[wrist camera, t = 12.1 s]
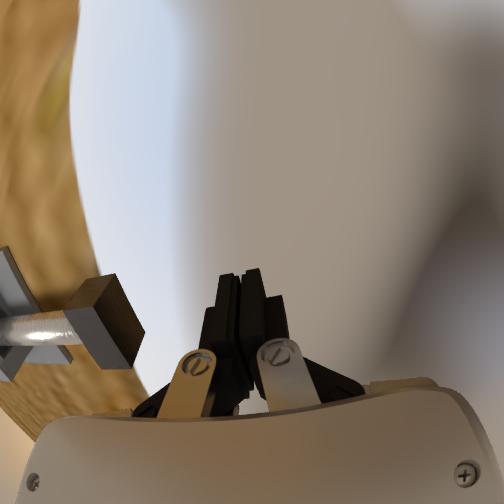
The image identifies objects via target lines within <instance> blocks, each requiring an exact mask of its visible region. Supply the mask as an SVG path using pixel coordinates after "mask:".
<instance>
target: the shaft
mask: <svg viewBox="0 0 504 504" xmlns="http://www.w3.org/2000/svg"><path fill="white" fill-rule="evenodd" d="M144 334H145V331H144V329H143V327H142V325H141V324H140V322H139V320H138V318H137V316H136V314H135V312H134V310H133V308H132V306H131V305H130V303H129V301H128V299H127V297H126V295H125V293H124V291H123V288H122V286H121V284H120V282H119V280H118V278H117V276H116V274H115V273H114V274H110V275H105V276H100V277H95V278H90V279H86V280H85V282H84V283H83V284H82V285H81V287H80V288H79V289H78V291H77V292H76V293H75V295H74V296H73V297H72V299H71V300H70V301H69V303H68V304H67V305H66V307H65V308H64V309H63V310H59V311H52V312H44V313H37V314H29V315H21V316H13V317H4V318H0V346H46V345H76V344H84V346H85V347H86V348H87V350H88V351H89V353H90V354H91V356H92V357H93V358H94V360H95V361H96V363H97V364H98V365H99V367H100V368H101V369H132V367H133V364H134V361H135V358H136V356H137V353H138V351H139V348H140V345H141V343H142V340H143V337H144Z"/></svg>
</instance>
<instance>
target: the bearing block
mask: <svg viewBox="0 0 504 504" xmlns="http://www.w3.org/2000/svg"><path fill="white" fill-rule="evenodd" d="M37 313H42V312H41V310H40V308H39V307H38V305H37V303H36V302H35V300H34V298H33V296H32V295H31V293H30V291H29V289H28V287H27V286H26V284H25V282H24V280H23V278H22V276H21V274H20V272H19V270H18V268H17V266H16V264H15V262H14V260H13V258H12V256H11V253H10V251H9V249H8V247H5V248H2V249H0V318H4V317H13V316H21V315H29V314H37ZM72 360H73V358H72V357H71V355H70V354H69V353H68V351H67V350H66V348H65V347H64V346H63V345H46V346H0V380H2V381H7V382H12V380H13V378H14V377H15V375H16V373H17V372H18V370H19V369H20V367H21V365H22V364H23V363H41V364H71V362H72Z"/></svg>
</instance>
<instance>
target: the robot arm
mask: <svg viewBox="0 0 504 504" xmlns="http://www.w3.org/2000/svg"><path fill="white" fill-rule="evenodd" d="M254 382H255V385H256V387H257V389H258V391H259V394H260V396H261V398H263V399H265V400H266V401H267V404H268V408H269V412H266V413H257V414H247V415H238V414H239V405H238V404H239V403H240V402H241V401H242V400H244V399H248V398H249V391H251V390H254ZM456 467H457V468H456ZM15 504H504V481H503V478H502V474H501V471H500V468H499V464H498V461H497V459H496V456H495V453H494V450H493V448H492V445H491V443H490V441H489V438H488V436H487V434H486V431H485V429H484V427H483V425H482V423H481V421H480V420H479V418H478V416H477V414H476V413H475V411H474V409H473V408H472V406H471V405H470V404H469V402H468V401H467V400H466V399H465V398H464V397H463V396H462V395H461V394H460V393H458V392H457V391H455V390H453V389H450V388H446V387H441V386H438V384H437V383H436V382H435V381H434V380H432V379H430V378H428V377H416V378H408V379H399V380H387V381H374V382H370V385H361V384H359V383H358V382H356V381H355V380H352V379H350V378H348V377H345V376H343V375H341V374H339V373H336V372H334V371H332V370H330V369H328V368H326V367H324V366H321V365H319V364H317V363H315V362H313V361H311V360H309V359H307V358H304V357H303V356H302V354H301V351H300V349H299V347H298V345H297V344H296V343H295V342H294V341H293V340H290V339H289V331H288V325H287V318H286V313H285V308H284V302H283V298H282V295H278V296H273V297H268V298H266V294H265V290H264V286H263V282H262V277H261V273H260V270H259V268H256V269H252V270H247V271H246V274H243V275H242V278H241V282H240V279H239V276H234V274H233V273H230V274H224V275H220V277H219V283H218V289H217V295H216V301H215V307H208V308H206V311H205V316H204V322H203V326H202V332H201V337H200V342H199V348H198V350H194V351H191V352H189V353H187V354H186V355H185V356H184V357H183V358H182V359H181V360H180V362H179V364H178V366H177V368H176V371H175V373H174V376H173V378H172V380H171V382H170V383H169V384H167V385H166V386H165V387H163V388H162V389H161V390H159V391H158V392H156V393H155V394H154V395H152V396H151V397H150V398H148V399H147V400H145V401H144V402H143V403H141V404H140V405H139V406H138V407H137V408H136V409H135V410H134V411H133V410H132V409H131V408H130V409H124V410H118V411H112V412H106V413H99V414H93V415H75V416H68V417H63V418H60V419H57V420H54V421H52V422H50V423H49V424H47V425H46V426H45V427H44V429H43V430H42V431H41V433H40V435H39V436H38V438H37V440H36V442H35V445H34V447H33V449H32V452H31V454H30V457H29V459H28V462H27V465H26V468H25V471H24V474H23V477H22V481H21V484H20V487H19V491H18V495H17V499H16V503H15Z"/></svg>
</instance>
